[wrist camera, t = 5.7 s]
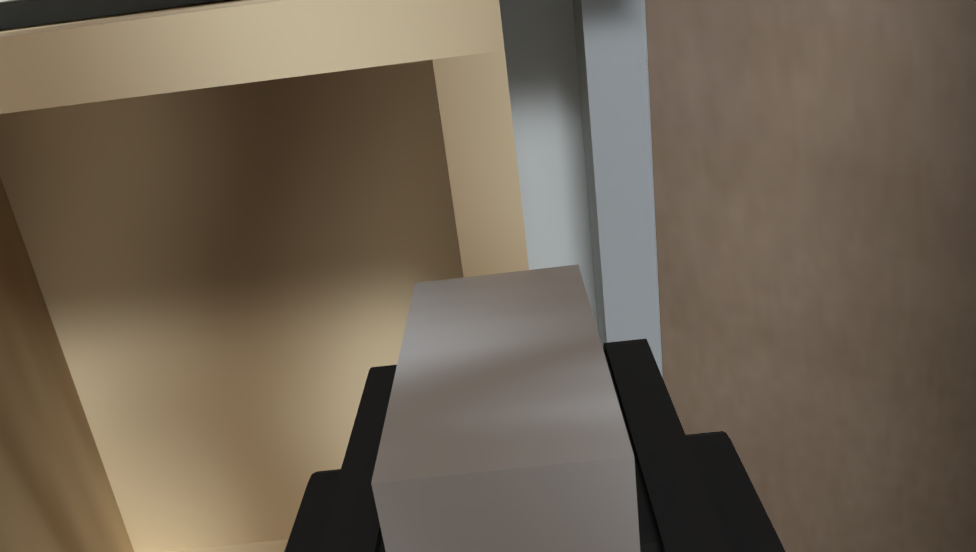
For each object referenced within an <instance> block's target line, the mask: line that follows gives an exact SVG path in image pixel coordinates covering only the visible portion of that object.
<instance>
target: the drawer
mask: <svg viewBox="0 0 976 552" xmlns="http://www.w3.org/2000/svg"><path fill="white" fill-rule="evenodd" d="M389 365H397V367H396V372H395V376H394V381H393V386H392V390H391V395H390V399H389V404H388V408H387V413H386V418H385V422H384V427H383V431H382V436H381V441H380V445H379V450H378V454H377V459H376V463H375V468H374V473H373V477H372V482H371V485H372V490H373V494H374V499H375V504H376V508H377V513H378V518H379V523H380V527H381V532H382V537H383V542H384V546H385V551H386V552H640V537H639V522H638V506H637V491H636V475H635V460H634V454H633V450H632V447H631V443H630V440H629V436H628V433H627V430H626V426H625V423H624V419H623V416H622V412H621V409H620V406H619V402H618V399H617V395H616V392H615V388H614V385H613V382H612V378H611V375H610V371H609V368H608V364H607V361H606V358H605V354H604V351H603V347H602V344H601V340H600V337H599V334H598V330H597V327H596V323H595V320H594V316H593V313H592V309H591V306H590V303H589V299H588V296H587V292H586V289H585V285H584V282H583V279H582V275H581V272H580V268H579V265H578V264H577V265H568V266H560V267H551V268H542V269H533V270H529V265H528V256H527V247H526V238H525V229H524V220H523V211H522V202H521V193H520V184H519V175H518V166H517V157H516V148H515V139H514V130H513V121H512V112H511V103H510V94H509V85H508V76H507V67H506V58H505V49H504V40H503V31H502V22H501V13H500V4H499V0H220V1H212V2H205V3H197V4H189V5H182V6H174V7H166V8H159V9H151V10H143V11H136V12H128V13H121V14H113V15H105V16H98V17H90V18H82V19H75V20H67V21H59V22H52V23H44V24H36V25H29V26H21V27H14V28H6V29H0V552H284V551H285V548H286V545H287V542H288V539H289V536H290V533H291V531H292V528H293V525H294V522H295V519H296V516H297V513H298V510H299V507H300V504H301V501H302V498H303V495H304V492H305V489H306V486H307V483H308V481H309V479H310V477H311V475H312V474H313V473H315V472H317V471H327V470H337V469H341V467H342V464H343V460H344V457H345V453H346V450H347V446H348V443H349V439H350V436H351V432H352V429H353V425H354V421H355V418H356V414H357V411H358V407H359V404H360V400H361V397H362V393H363V390H364V386H365V383H366V379H367V376H368V372H369V370H370V368H371V367H379V366H389Z"/></svg>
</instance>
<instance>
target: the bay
mask: <svg viewBox="0 0 976 552" xmlns="http://www.w3.org/2000/svg"><path fill="white" fill-rule="evenodd" d="M212 1H220V0H0V29H6V28H14V27H21V26H29V25H36V24H44V23H52V22H59V21H67V20H75V19H82V18H90V17H98V16H105V15H113V14H121V13H128V12H136V11H143V10H151V9H159V8H166V7H174V6H182V5H189V4H197V3H205V2H212ZM499 4H500V13H501V22H502V31H503V40H504V49H505V58H506V67H507V76H508V85H509V94H510V103H511V112H512V121H513V130H514V139H515V148H516V157H517V166H518V175H519V184H520V193H521V202H522V211H523V220H524V229H525V238H526V247H527V256H528V265H529V270H533V269H542V268H551V267H560V266H568V265H577V264H578V265H579V268H580V272H581V275H582V279H583V282H584V285H585V289H586V292H587V296H588V299H589V303H590V306H591V309H592V313H593V316H594V320H595V323H596V327H597V330H598V334H599V337H600V340H601V344H602V347H603V345H604V343H608V342H617V341H627V340H637V339H647V341H648V343H649V346H650V348H651V351H652V353H653V356H654V358H655V361H656V363H657V366H658V368H659V371H660V373H661V376H662V357H661V336H660V314H659V293H658V272H657V250H656V229H655V208H654V187H653V165H652V144H651V123H650V102H649V80H648V59H647V38H646V16H645V0H499Z"/></svg>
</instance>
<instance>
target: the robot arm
mask: <svg viewBox="0 0 976 552" xmlns="http://www.w3.org/2000/svg"><path fill="white" fill-rule="evenodd" d="M603 351H604V354H605V358H606V361H607V364H608V368H609V371H610V375H611V378H612V382H613V385H614V388H615V392H616V395H617V399H618V402H619V406H620V409H621V412H622V416H623V419H624V423H625V426H626V430H627V433H628V436H629V440H630V443H631V447H632V450H633V454H634V460H635V475H636V491H637V506H638V522H639V537H640V552H785V550H784V548H783V546H782V544H781V542H780V540H779V538H778V536H777V534H776V532H775V530H774V528H773V525H772V523H771V521H770V519H769V517H768V515H767V513H766V511H765V509H764V507H763V505H762V503H761V501H760V499H759V497H758V495H757V493H756V491H755V489H754V487H753V485H752V483H751V481H750V479H749V476H748V474H747V472H746V470H745V468H744V466H743V464H742V462H741V460H740V458H739V456H738V454H737V452H736V450H735V448H734V446H733V444H732V442H731V440H730V438H729V437H728V435H727V434H726V433H725V432H723V431H721V432H711V433H700V434H690V435H685V433H684V430H683V428H682V425H681V423H680V420H679V418H678V415H677V413H676V411H675V408H674V406H673V403H672V401H671V398H670V396H669V393H668V391H667V388H666V386H665V383H664V381H663V378H662V376H661V373H660V371H659V368H658V366H657V363H656V361H655V358H654V356H653V353H652V351H651V348H650V346H649V343H648V341H647V339H637V340H627V341H617V342H608V343H604V345H603ZM396 367H397V365H389V366H379V367H371V368H370V370H369V372H368V376H367V379H366V383H365V386H364V390H363V393H362V397H361V400H360V404H359V407H358V411H357V414H356V418H355V421H354V425H353V429H352V432H351V436H350V439H349V443H348V446H347V450H346V453H345V457H344V460H343V464H342V467H341V469H337V470H327V471H317V472H315V473H313V474H312V475H311V477H310V479H309V481H308V483H307V486H306V489H305V492H304V495H303V498H302V501H301V504H300V507H299V510H298V513H297V516H296V519H295V522H294V525H293V528H292V531H291V533H290V536H289V539H288V542H287V545H286V548H285V551H284V552H386V551H385V546H384V542H383V537H382V532H381V527H380V523H379V518H378V513H377V508H376V504H375V499H374V494H373V490H372V485H371V482H372V477H373V473H374V468H375V463H376V459H377V454H378V450H379V445H380V441H381V436H382V431H383V427H384V422H385V418H386V413H387V408H388V404H389V399H390V395H391V390H392V386H393V381H394V376H395V372H396Z"/></svg>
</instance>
